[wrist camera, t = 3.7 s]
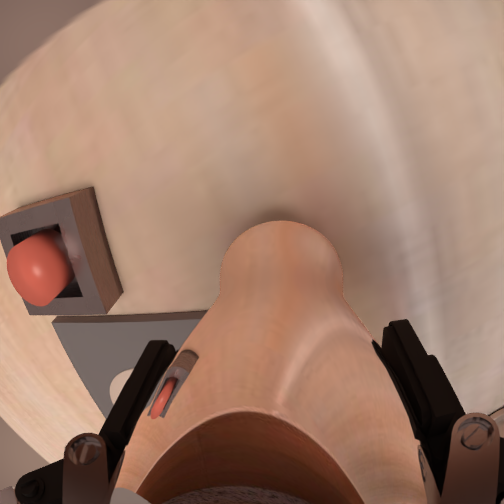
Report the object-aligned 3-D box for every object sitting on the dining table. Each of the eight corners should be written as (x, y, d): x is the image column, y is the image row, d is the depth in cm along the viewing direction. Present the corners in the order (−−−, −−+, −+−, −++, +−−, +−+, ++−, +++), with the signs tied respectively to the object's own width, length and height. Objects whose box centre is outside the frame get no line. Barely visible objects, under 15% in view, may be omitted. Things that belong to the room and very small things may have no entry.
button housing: (123, 292, 22) (106, 314, 19) (48, 296, 23) (29, 315, 20) (93, 186, 19) (69, 197, 16) (18, 207, 20) (-6, 219, 17)
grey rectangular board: (265, 455, 29) (265, 464, 28) (134, 449, 31) (131, 456, 30) (233, 308, 22) (231, 318, 21) (56, 316, 24) (50, 323, 23)
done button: (85, 283, 20) (63, 305, 17) (43, 287, 20) (21, 306, 18) (65, 224, 18) (39, 240, 15) (24, 233, 19) (-1, 248, 16)
